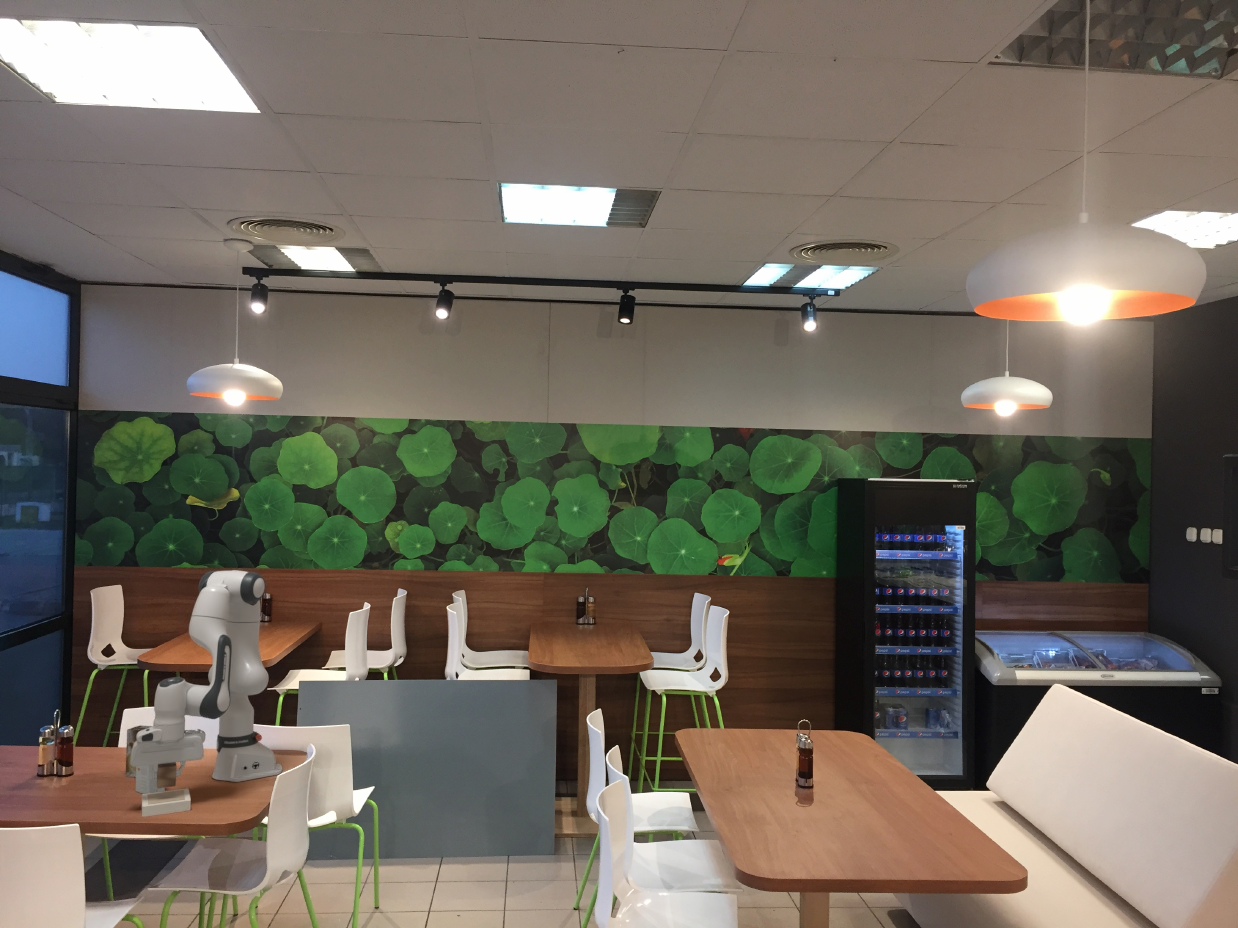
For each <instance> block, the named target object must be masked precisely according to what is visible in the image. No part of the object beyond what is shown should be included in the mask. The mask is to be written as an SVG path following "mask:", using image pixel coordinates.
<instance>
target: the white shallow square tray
mask: <svg viewBox="0 0 1238 928" xmlns="http://www.w3.org/2000/svg"><path fill="white" fill-rule="evenodd" d="M191 801H192V800H191V794H190V790H189V788H181V789H173V790H168V791H167V790H165V791H164V792H156V793H148V794H142V793H141V817H142V818H144V817H145V818H147V817H151V816H160V815H166V814H172V813H173V814H175V813H180V812H181V813H182V812H188V811H191V804H192V802H191Z"/></svg>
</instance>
